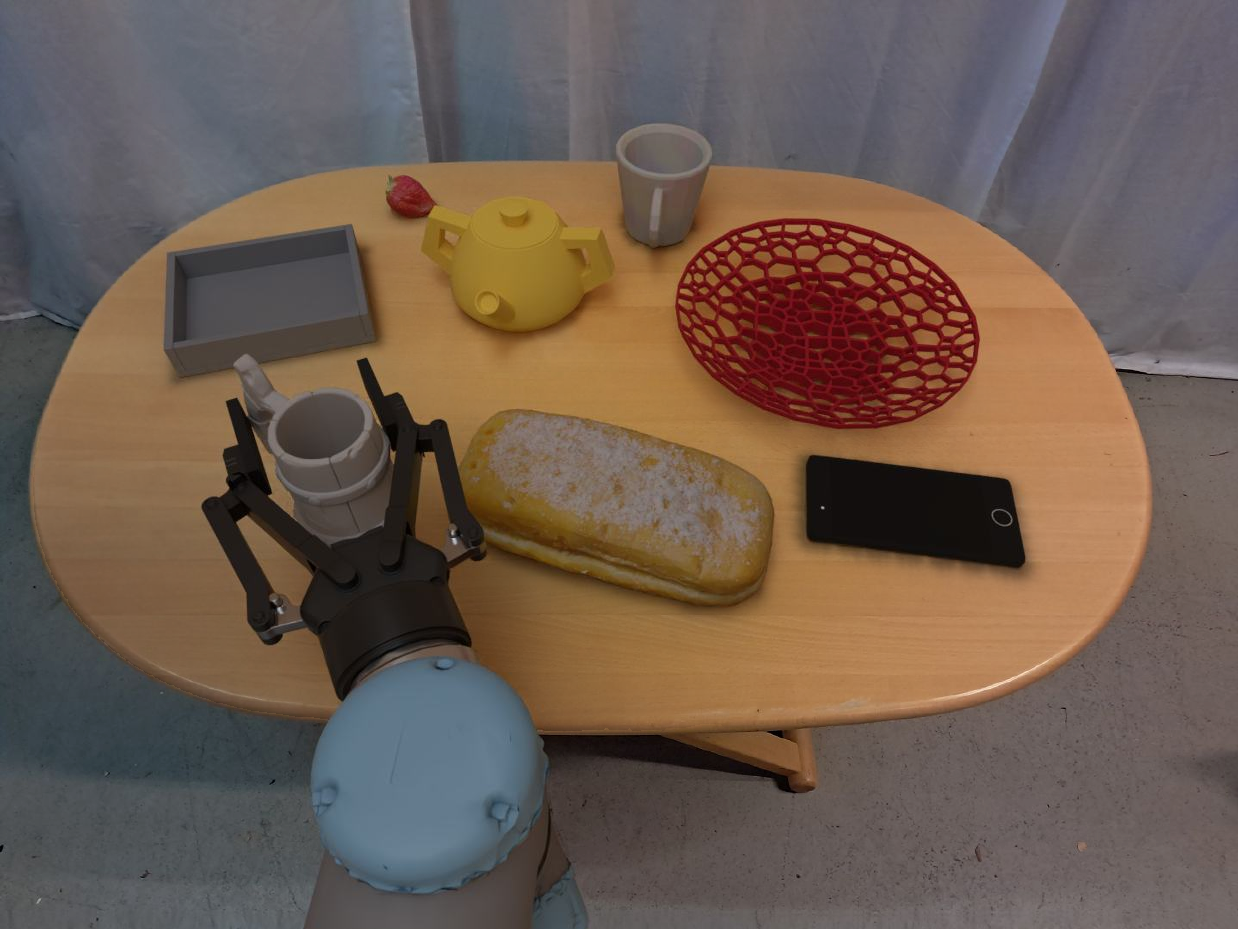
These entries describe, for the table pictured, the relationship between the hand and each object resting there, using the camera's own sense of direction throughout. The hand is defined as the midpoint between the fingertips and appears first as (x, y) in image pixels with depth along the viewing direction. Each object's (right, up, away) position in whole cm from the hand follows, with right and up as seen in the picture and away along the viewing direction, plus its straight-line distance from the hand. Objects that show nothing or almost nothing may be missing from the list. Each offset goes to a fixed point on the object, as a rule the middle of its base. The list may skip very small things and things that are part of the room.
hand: (303, 392), depth 55 cm
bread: (+21, -10, +14) cm, 27 cm away
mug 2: (+26, +21, +37) cm, 50 cm away
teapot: (+11, +12, +30) cm, 34 cm away
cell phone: (+47, -9, +15) cm, 50 cm away
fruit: (-3, +24, +39) cm, 46 cm away
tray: (-14, +11, +28) cm, 33 cm away
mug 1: (+1, -8, +3) cm, 8 cm away
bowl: (+42, +7, +27) cm, 50 cm away
